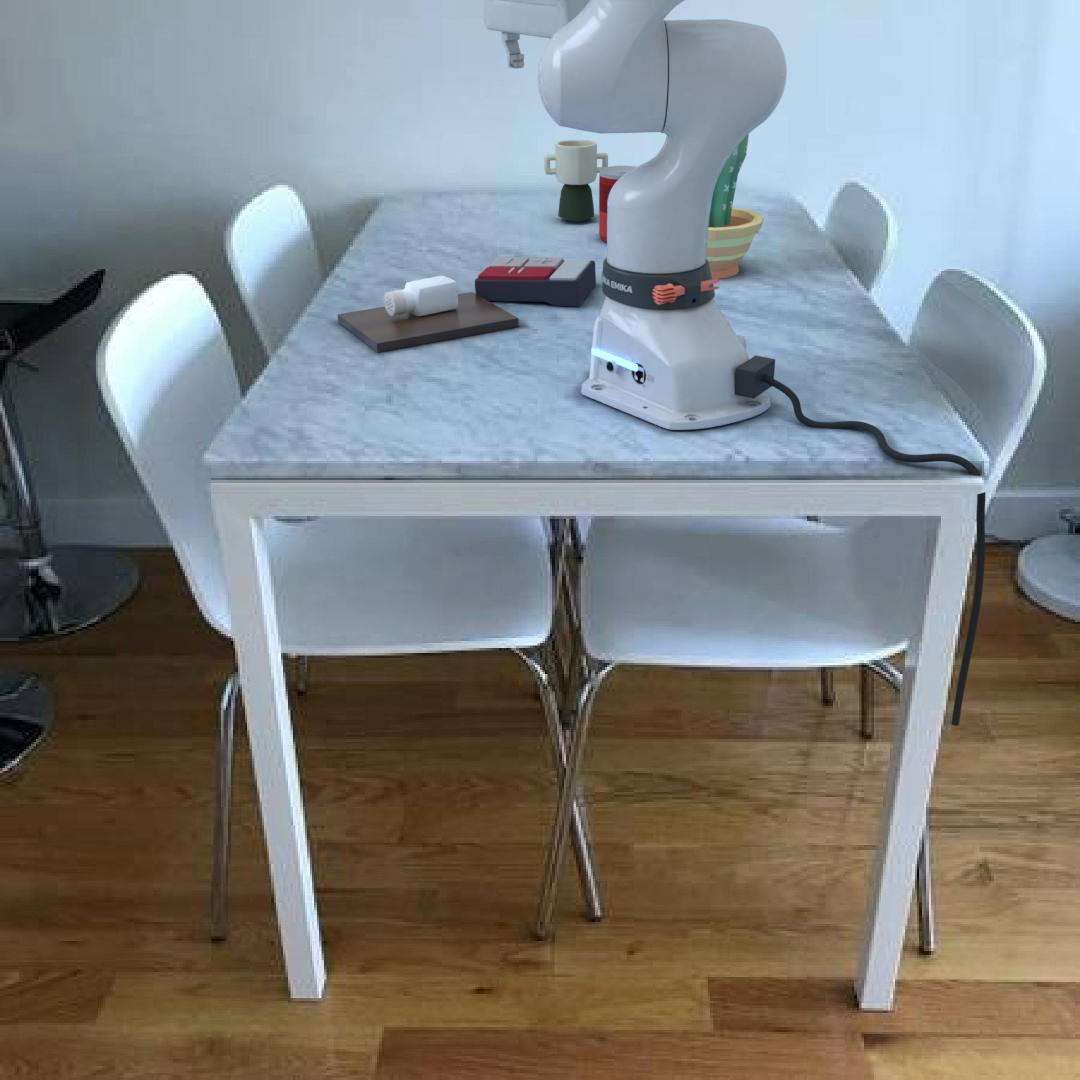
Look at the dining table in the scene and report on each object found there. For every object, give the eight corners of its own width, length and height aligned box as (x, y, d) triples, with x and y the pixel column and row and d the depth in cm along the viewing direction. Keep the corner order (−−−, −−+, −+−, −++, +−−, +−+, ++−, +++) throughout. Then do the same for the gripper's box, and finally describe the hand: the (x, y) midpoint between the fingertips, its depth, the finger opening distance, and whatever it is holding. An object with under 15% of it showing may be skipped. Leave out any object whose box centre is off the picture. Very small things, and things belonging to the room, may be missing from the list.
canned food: (610, 246, 198) (611, 177, 193) (591, 235, 204) (591, 167, 199) (653, 241, 200) (655, 172, 195) (632, 230, 207) (634, 163, 202)
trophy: (604, 214, 218) (605, 138, 211) (610, 224, 211) (610, 145, 205) (543, 216, 217) (542, 140, 211) (546, 226, 211) (545, 147, 204)
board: (518, 326, 162) (518, 318, 162) (377, 352, 154) (376, 343, 153) (472, 300, 173) (472, 291, 173) (338, 322, 165) (337, 314, 164)
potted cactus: (754, 256, 191) (765, 87, 180) (767, 284, 178) (780, 103, 166) (654, 257, 192) (659, 88, 180) (660, 285, 178) (665, 104, 167)
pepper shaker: (458, 280, 164) (395, 292, 159) (460, 309, 165) (397, 322, 161) (443, 273, 167) (381, 285, 162) (445, 302, 168) (383, 315, 164)
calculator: (495, 254, 180) (595, 254, 177) (498, 283, 182) (596, 284, 179) (472, 275, 171) (577, 275, 167) (475, 305, 173) (579, 306, 169)
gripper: (470, -44, 165) (474, 65, 172) (561, -38, 151) (561, 81, 157) (509, -46, 169) (511, 61, 175) (601, -40, 154) (600, 77, 160)
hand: (535, 71), depth 166 cm, fingers open, 8 cm apart
